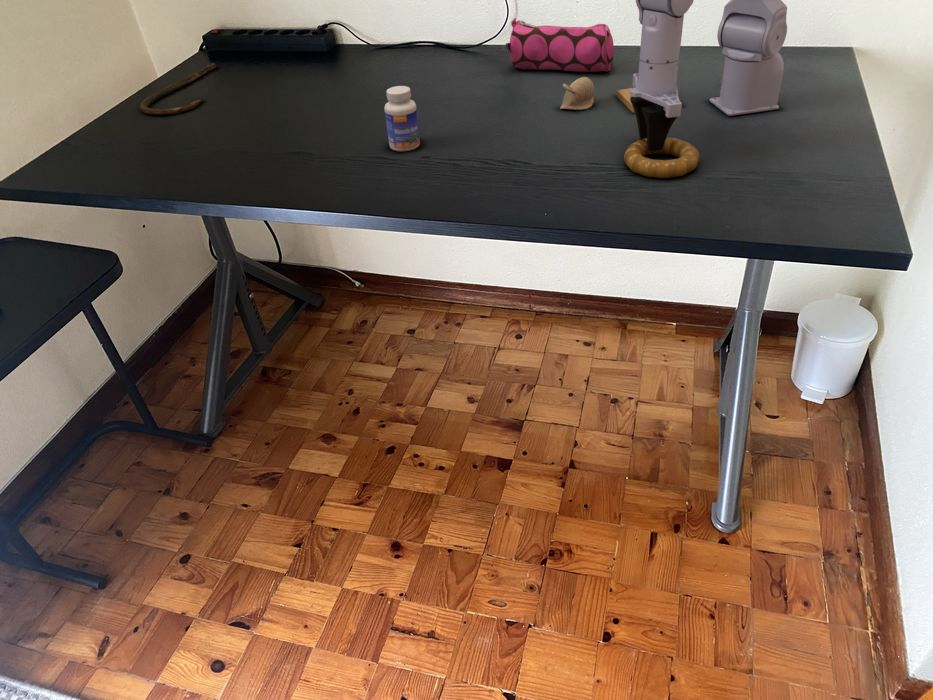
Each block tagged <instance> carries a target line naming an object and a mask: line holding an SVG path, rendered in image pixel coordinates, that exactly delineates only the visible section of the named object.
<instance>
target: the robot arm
mask: <svg viewBox="0 0 933 700" xmlns="http://www.w3.org/2000/svg"><path fill="white" fill-rule="evenodd" d="M694 1H695V0H635V4H636V7H637V9H638V21H639V24H640V25H641V35H640V36H641V37H640V46H639V47H640V49H639V59H638V63H639V64H638V72H636V73H633V74H632V88H633V89H630V95H631V96H632V97H631V98H630V101H631V103H632V105H633V108H634V111H635V113H634V114H635V119H636V122H637V129H638V137H639V140H641V139H645V138H647V145H648V150H649V151H657V150H662V148H663V146H664V143H665V140H666V137H668V135H669V133H670V130H671V128H672V126H673V124H674V122H675V121H676V119H677V118H678V117H681V115H682V108H683V107H682V106H683V103H682V101H681V102H680V101H679V98H680V96H679V91H678V86H677V83H678V82H677V81H678V74H679V63H680V54H681V45H682V36H683V26H684V18H685V14H686V13H688V11H689V10H690V8H691V7H692V5H693V3H694ZM787 14H788V6H787V4H786V3H784V1H783V0H729V1H728V2H727V3H726V4H725V5H724V6H723V12H722V17H721V19H720V23H719V24H718V28H717V42H718V45H719V47H720V48H721V49H722V51H721V53H722V55H725V57H724V64H723V71H722V78H721V84H720V93H719V96H716V97H710V98H709V102H710V103H711V104H713V105H714V106H715V108H717V109H719V110H720V111H721V112H722V113H724V114H726V116H728V117H731V116H740V115H746V114H754V113H760V112H761V113H762V112H769V111H775V110H779V109H780V106H779V105H778V103H779V97H780V91H781V87H782V83H783V78H784V71H785V70H784V69H785V64H784V63H785V62H784V59H783V57H782V55H781V54H780V52H779V51H780V50H781V49H782V48H783V46H784V43H785V41H786V37H787V34H788V24H787Z"/></svg>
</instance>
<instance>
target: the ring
mask: <svg viewBox="0 0 933 700" xmlns="http://www.w3.org/2000/svg"><path fill="white" fill-rule="evenodd" d="M650 155H669V156H673V157H676V158H672V159H653V158H649V157H646V156H650ZM700 156H701V155H700V152H699V149H697V148H696V147H695V146H694V145H693V144H692V143H691V142H689V141H686V140H683V139H680V138H676V137H669V136H667V137H666V140H665V143H664V146H663V148H662V150H657V151H649V150H648V145H647V138H645V139H641V140H640V139H639V140H637V141H635V142H633V143H631V144H629V145H628V146H627V148H626V150H625V152H624V155H623V161H624V164H625V165H626V166H627V167H628V168H629V169H630V170H631V171H632V172H633V173H636V174H638V175H641V176H644V177H647V178H658V179H669V178H676V177H677V178H678V177H682V176H684V175H686V174H688V173H690V172H692V171H693V170H695V169H696V168H697V167H698V164H699V160H700Z"/></svg>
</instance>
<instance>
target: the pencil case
mask: <svg viewBox="0 0 933 700" xmlns="http://www.w3.org/2000/svg"><path fill="white" fill-rule="evenodd" d="M510 22H511V23H510V25H511V27H512V30H511V33H510V38H509V42H506V43H505V49H506V51H507V53H509V60H510V63H511V65H512V66H513V67H514V68H516V69H520V70H535V71H536V70H537V71H538V70H539V71H550V70H554V71H564V72H578V73H579V72H580V73H594V72H610V71H611V68H612V63H613V60H614V54H615V53H614V52H615V50H614V49H615V48H614V47H615V46H614V39H613V38H614V37H613V35H612V33H611V29H610V28H609V25H607V24H605V23H597V24H594V25H592V26H559V25H534V24H532V23H527V22H525V21H524V20H519V19H518V20H517V17H514V18H513V19H512V20H511V21H510Z"/></svg>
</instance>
